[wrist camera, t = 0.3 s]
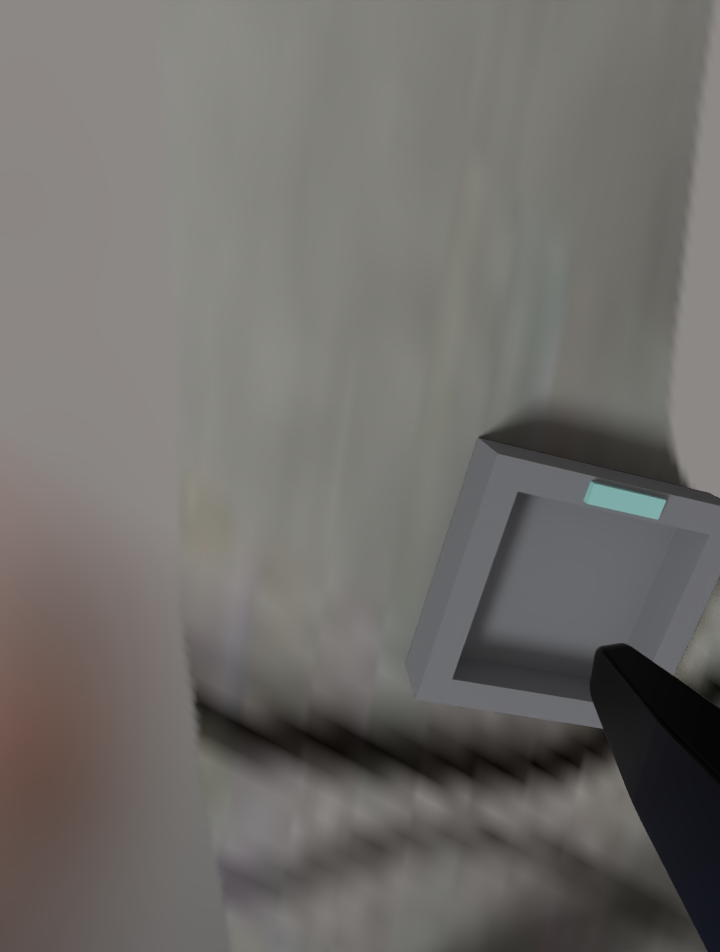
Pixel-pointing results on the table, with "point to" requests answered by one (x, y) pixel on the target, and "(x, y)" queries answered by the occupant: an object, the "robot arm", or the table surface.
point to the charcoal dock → (559, 582)
